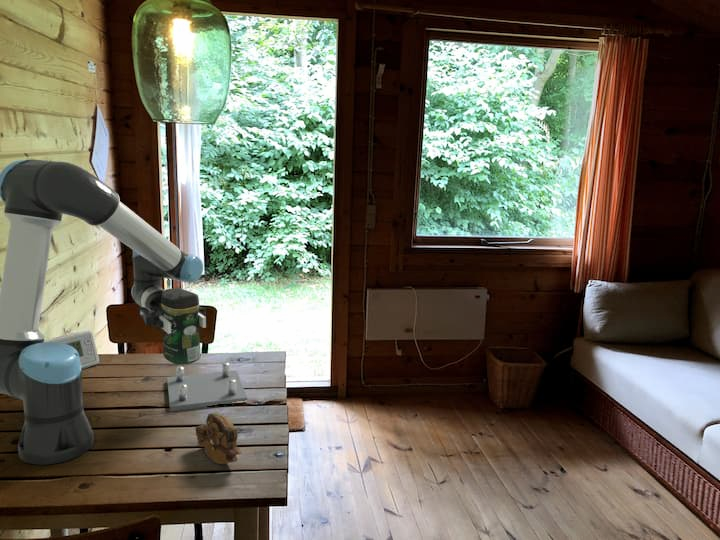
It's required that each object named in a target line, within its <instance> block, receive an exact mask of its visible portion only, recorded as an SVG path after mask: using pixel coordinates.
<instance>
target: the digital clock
mask: <svg viewBox="0 0 720 540" xmlns="http://www.w3.org/2000/svg"><path fill="white" fill-rule="evenodd" d="M44 342H51V343H56V342H58V343H64V344H67V345H70V346H72V347H73V348H75V349H76V350H77V352H78V354H79V357H80V363H81V366H82V368H81V371H82V370H85V369H89V368H90V367H94V366H97V365H98V364H99V363H100V357H99V354H98V349H97V346H96V342H95V338H94V334H93V331H92V330H90V329H88V330H84V331H79V332H73V333H68V334H66V335H60V336H57V337H52V338H50V339H46V340H45V339H44Z"/></svg>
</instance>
